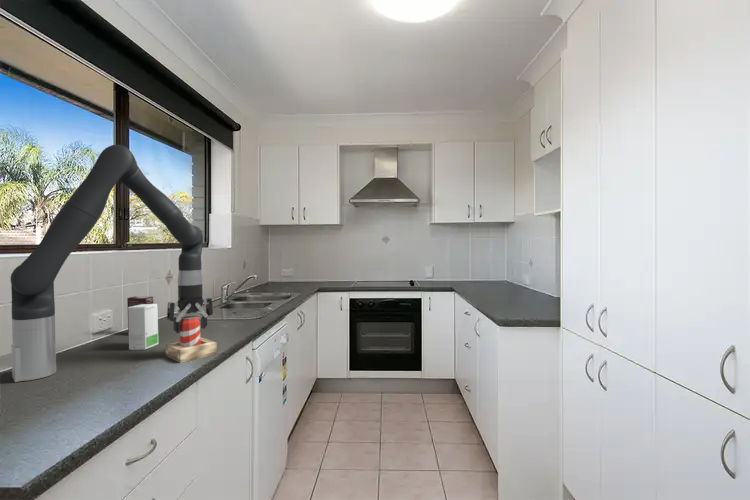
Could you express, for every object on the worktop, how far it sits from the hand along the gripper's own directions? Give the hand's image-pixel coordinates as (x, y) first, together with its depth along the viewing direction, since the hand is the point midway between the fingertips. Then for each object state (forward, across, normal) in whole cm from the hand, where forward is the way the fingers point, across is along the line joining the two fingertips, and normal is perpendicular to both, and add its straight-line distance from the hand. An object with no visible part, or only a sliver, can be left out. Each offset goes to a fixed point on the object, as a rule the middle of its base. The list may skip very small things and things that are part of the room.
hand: (190, 330), depth 127 cm
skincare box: (+9, -7, +24) cm, 26 cm away
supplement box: (+9, -1, +46) cm, 47 cm away
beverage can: (+8, 0, 0) cm, 8 cm away
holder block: (+8, 0, 0) cm, 9 cm away
